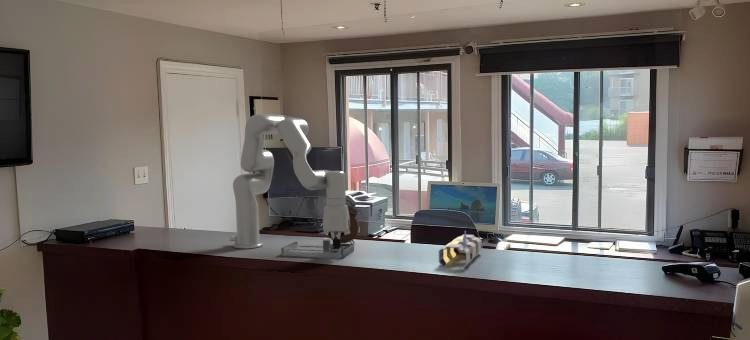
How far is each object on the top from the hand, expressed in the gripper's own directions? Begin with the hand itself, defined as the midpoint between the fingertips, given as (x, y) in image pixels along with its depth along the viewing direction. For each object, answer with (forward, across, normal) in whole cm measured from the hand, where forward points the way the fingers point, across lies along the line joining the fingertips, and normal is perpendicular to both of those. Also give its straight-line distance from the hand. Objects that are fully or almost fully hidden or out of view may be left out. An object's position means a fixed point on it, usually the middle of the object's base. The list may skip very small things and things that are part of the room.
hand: (337, 248), depth 217 cm
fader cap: (+1, -4, 0) cm, 4 cm away
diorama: (+4, +48, +3) cm, 49 cm away
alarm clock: (+3, -5, +24) cm, 24 cm away
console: (+3, -9, +4) cm, 10 cm away
